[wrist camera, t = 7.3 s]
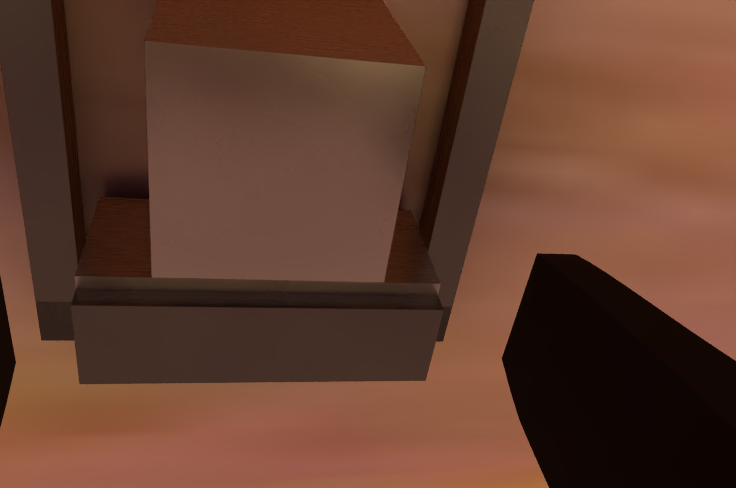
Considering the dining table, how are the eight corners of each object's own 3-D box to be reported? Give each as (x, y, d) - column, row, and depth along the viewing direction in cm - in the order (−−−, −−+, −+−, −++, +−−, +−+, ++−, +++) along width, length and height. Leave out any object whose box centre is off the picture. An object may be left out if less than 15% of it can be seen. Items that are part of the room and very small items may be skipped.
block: (173, 146, 16) (151, 277, 12) (172, -39, 13) (144, 40, 9) (347, 157, 16) (384, 282, 12) (371, -17, 14) (425, 66, 10)
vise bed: (50, 314, 17) (8, 437, 14) (-96, -772, 8) (-305, -1122, 5) (434, 318, 20) (474, 425, 16) (650, -543, 11) (837, -687, 7)
